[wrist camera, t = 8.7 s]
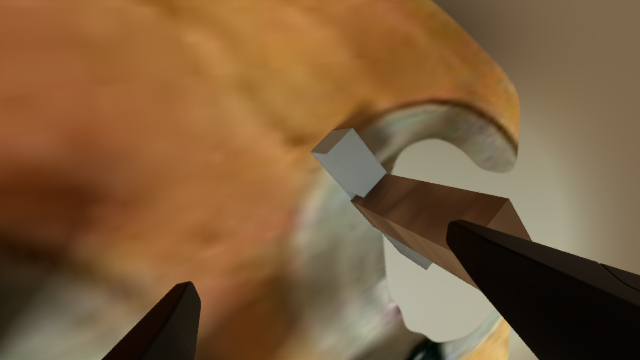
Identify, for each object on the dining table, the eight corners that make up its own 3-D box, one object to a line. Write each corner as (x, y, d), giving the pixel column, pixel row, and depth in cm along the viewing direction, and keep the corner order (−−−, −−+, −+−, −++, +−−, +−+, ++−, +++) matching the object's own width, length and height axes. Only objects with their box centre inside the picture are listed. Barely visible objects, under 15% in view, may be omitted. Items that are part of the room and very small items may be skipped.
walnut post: (373, 226, 24) (493, 298, 13) (350, 200, 23) (462, 256, 11) (398, 198, 25) (533, 244, 13) (377, 171, 23) (508, 198, 12)
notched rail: (399, 252, 27) (426, 270, 23) (310, 152, 22) (326, 154, 18) (416, 233, 27) (444, 247, 24) (332, 130, 22) (352, 127, 18)
